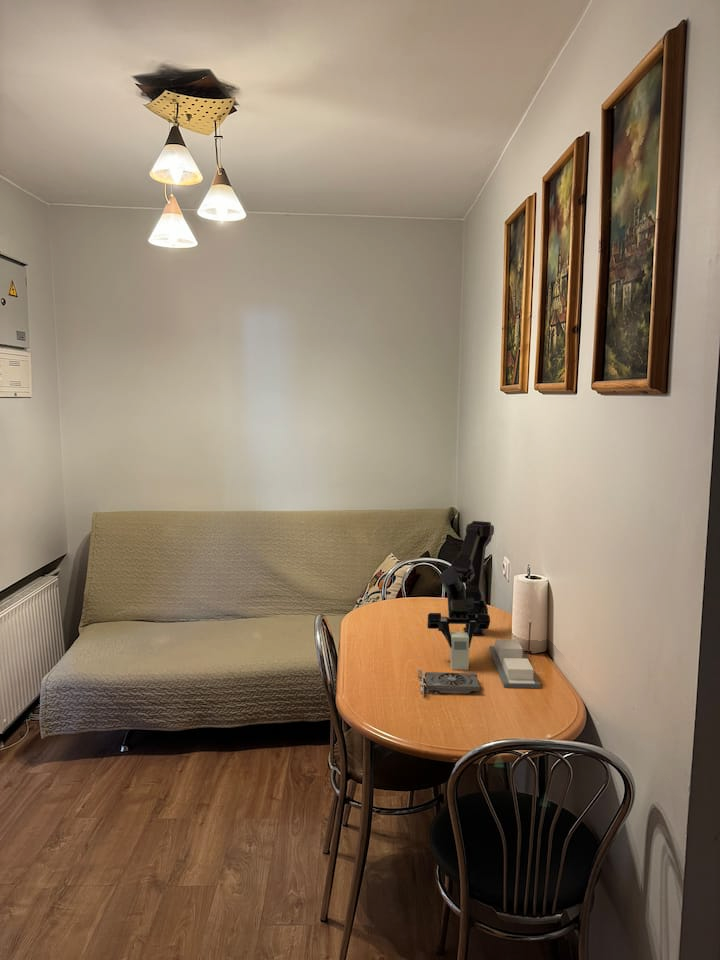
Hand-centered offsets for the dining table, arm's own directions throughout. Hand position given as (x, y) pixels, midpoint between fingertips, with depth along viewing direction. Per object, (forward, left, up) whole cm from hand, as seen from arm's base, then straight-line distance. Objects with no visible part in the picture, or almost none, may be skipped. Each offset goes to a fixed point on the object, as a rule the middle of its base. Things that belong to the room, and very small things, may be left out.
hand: (460, 647), depth 187 cm
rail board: (-1, +16, -7) cm, 17 cm away
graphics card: (+14, -4, -7) cm, 16 cm away
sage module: (-1, 0, -7) cm, 7 cm away
